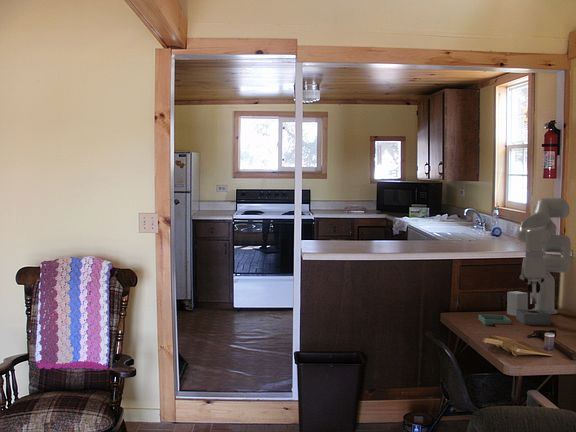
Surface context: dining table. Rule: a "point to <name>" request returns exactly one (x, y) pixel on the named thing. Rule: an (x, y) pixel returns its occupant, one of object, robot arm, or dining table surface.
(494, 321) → the tray
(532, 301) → the pin
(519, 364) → the dining table surface
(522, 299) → the supplement box
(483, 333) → the dining table surface
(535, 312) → the socket block
